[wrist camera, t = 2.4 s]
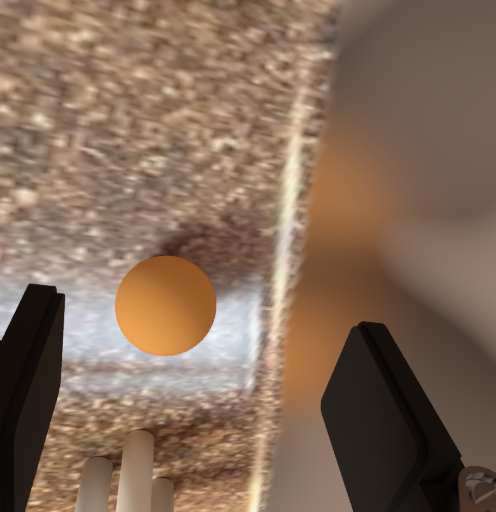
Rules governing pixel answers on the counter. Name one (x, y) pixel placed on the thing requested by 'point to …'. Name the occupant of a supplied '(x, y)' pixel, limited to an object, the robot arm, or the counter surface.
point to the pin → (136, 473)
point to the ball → (165, 305)
